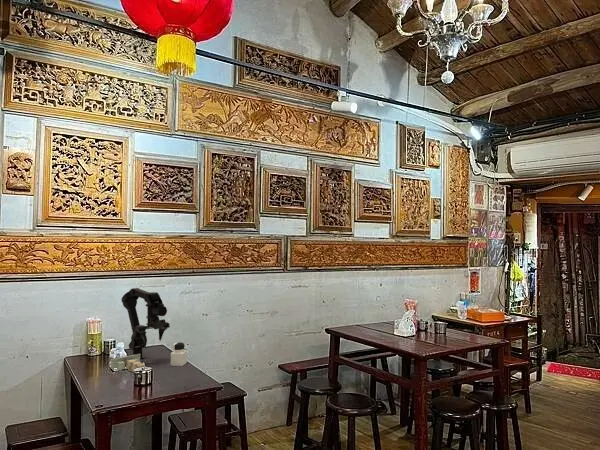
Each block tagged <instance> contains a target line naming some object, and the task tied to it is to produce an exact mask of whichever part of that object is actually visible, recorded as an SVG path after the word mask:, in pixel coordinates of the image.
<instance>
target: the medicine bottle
mask: <svg viewBox="0 0 600 450" xmlns="http://www.w3.org/2000/svg"><path fill="white" fill-rule="evenodd" d="M172 347H173V349H172V352H170V366H172V367H173V366H175V367H183V366H184V365H186V364H187V363H188V351H187V349H186V350H185V343H184V342H175V343H173V346H172Z"/></svg>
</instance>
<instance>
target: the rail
mask: <svg viewBox="0 0 600 450" xmlns="http://www.w3.org/2000/svg"><path fill="white" fill-rule="evenodd" d="M124 362H125V367H126V369H125V370H127V369H128V370H127V371H130V372H131V373H133V372H134V369H136V368H140V367H145V368H146V364H145V363H143V362H141V361H140V362H138V361H136V360H134V359H133V358H125V359H124Z"/></svg>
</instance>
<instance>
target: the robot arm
mask: <svg viewBox="0 0 600 450" xmlns="http://www.w3.org/2000/svg"><path fill="white" fill-rule="evenodd" d="M139 298H141V299H142V300H143V301H144V302H145V307H146V309H147V315H146V319H147V323H146V325H144V324H140V320H139V316H138V311H137V305H138V299H139ZM121 303H122V305H123V308H125V310H126V311H127V314H128V318H129V322H130V326H131V327H130V328H131V330H132V334H131V337H130V340H131V341H130V342H129V343H128V349H130V350H132V351H131V353H132V355H136V354H141V355H140V360H141V359H145V358H146V357H145V356H143V348H146V347H147V343H148V337H147V331H146V330H150V329H154V330H158V338H159V339H158V340H159V341H162V339H163V336H164V333H165V331H166V330H168V328H170V323H169V322H167V321H166V319H160V317H165V316H166V315H167V312H168V309H167V307H166V306H165V304H164V303H163V300H162V298H161V296H160V294H159V292H157V291H156V292H155V291H153V292H149V291H146V290H143V289H142V288H139V287H133V288H131V289H129V291H127V292H126V293H124V294H123V296H122V297H121Z"/></svg>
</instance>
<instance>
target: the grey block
mask: <svg viewBox="0 0 600 450" xmlns="http://www.w3.org/2000/svg"><path fill="white" fill-rule="evenodd" d="M140 355H141V354H136V355H127V356H125V355H124V356H121V357H116V358H111V359H110V370H111V369H112V371H114V370H113V369H114V368H117V369H119V370H120V371H123V370H122V369H125V362H124V359H125V358H133V359H134V360H136V361H138V362H141V359H140ZM117 369H116V370H117ZM119 370H118V371H119ZM125 370H126V369H125Z"/></svg>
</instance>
